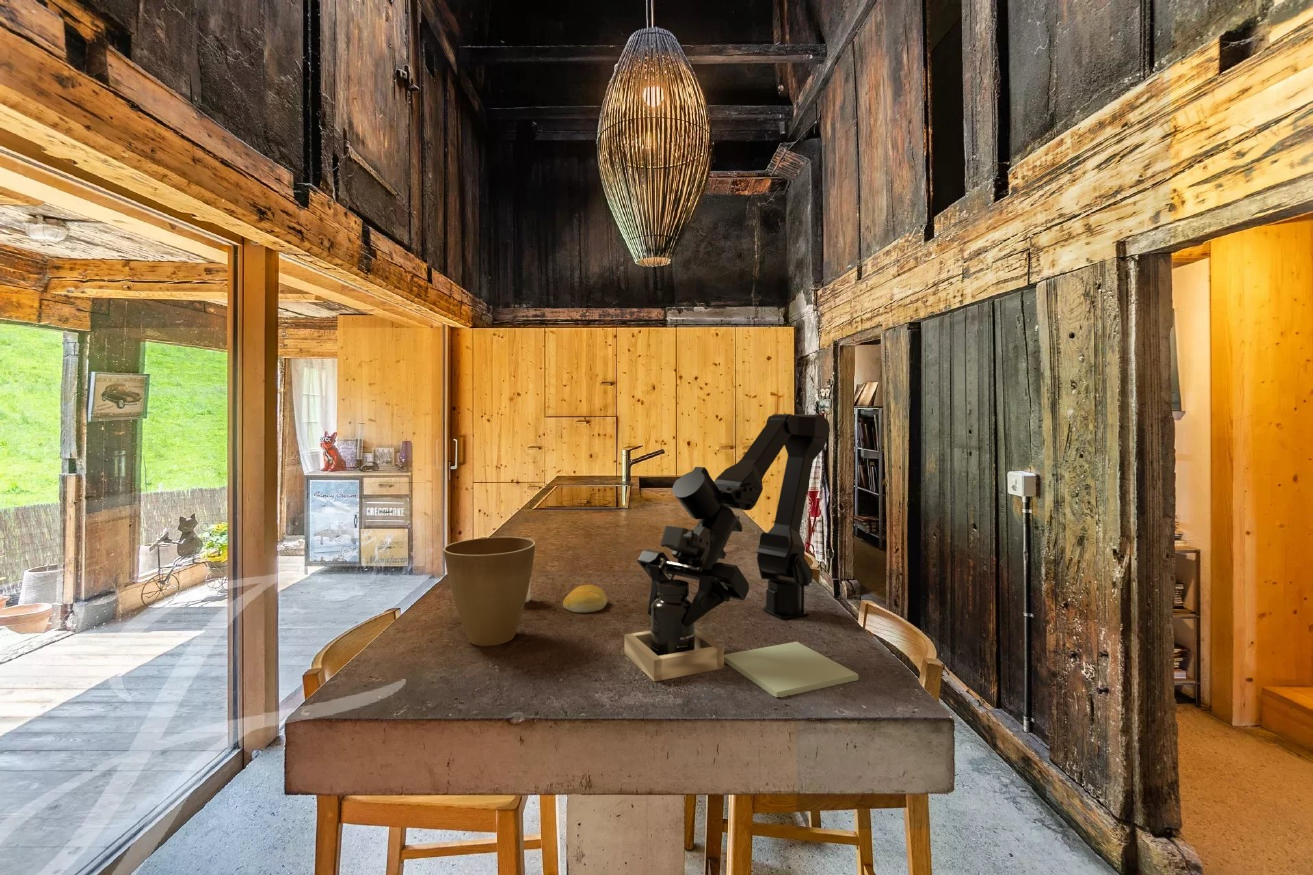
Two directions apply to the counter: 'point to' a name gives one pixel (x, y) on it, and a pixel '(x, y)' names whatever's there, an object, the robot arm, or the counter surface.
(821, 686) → the sage board
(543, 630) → the counter surface
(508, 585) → the plant pot
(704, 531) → the robot arm
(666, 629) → the supplement bottle
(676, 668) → the birch collar
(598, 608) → the bread roll
